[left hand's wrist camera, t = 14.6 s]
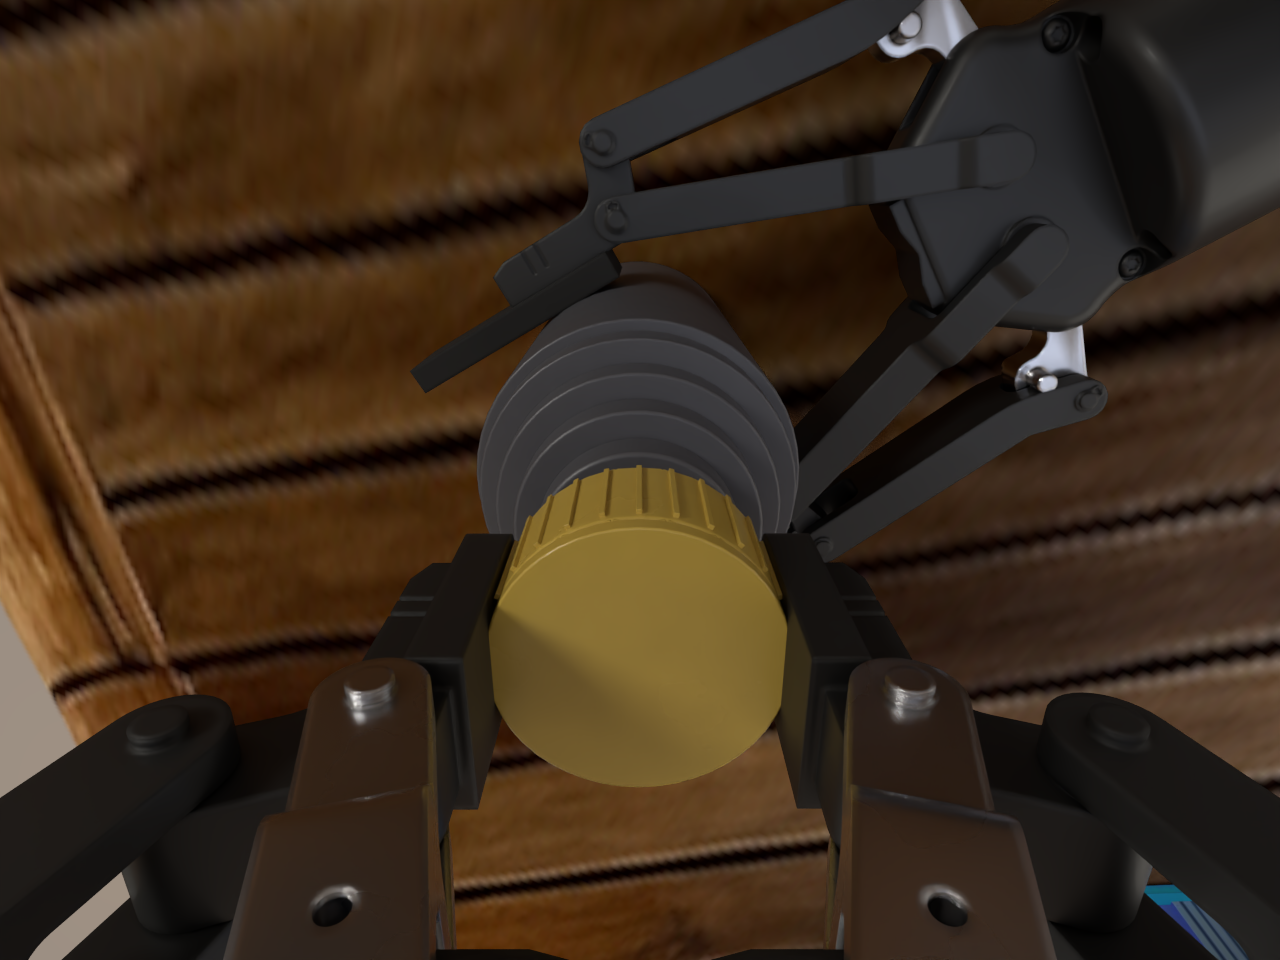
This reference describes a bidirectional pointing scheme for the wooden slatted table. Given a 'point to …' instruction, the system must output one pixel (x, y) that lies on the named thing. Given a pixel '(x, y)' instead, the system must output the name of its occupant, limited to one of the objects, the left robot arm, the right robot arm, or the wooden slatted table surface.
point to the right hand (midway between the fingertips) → (504, 476)
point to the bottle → (638, 405)
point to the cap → (638, 630)
